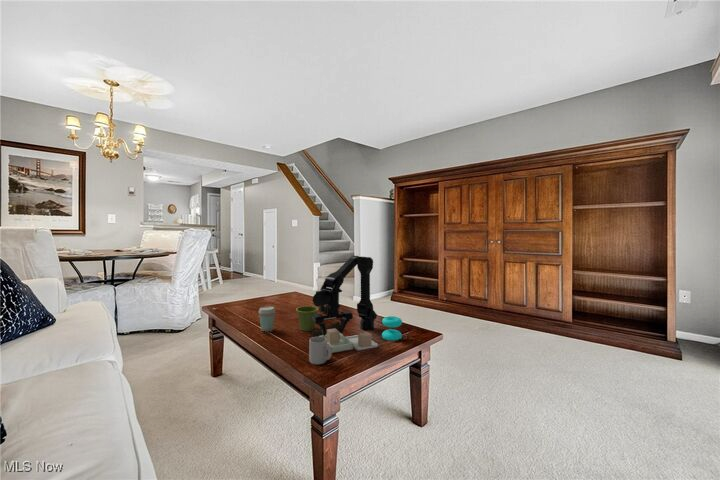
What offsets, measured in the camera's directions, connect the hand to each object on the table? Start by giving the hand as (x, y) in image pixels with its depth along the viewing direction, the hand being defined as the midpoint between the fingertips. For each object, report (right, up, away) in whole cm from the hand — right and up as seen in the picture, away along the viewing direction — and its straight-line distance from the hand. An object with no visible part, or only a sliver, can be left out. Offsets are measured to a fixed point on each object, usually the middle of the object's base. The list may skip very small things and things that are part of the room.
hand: (332, 334), depth 146 cm
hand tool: (-4, -4, +14) cm, 15 cm away
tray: (+13, -4, 0) cm, 14 cm away
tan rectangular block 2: (+15, -4, -4) cm, 16 cm away
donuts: (+29, -4, +8) cm, 30 cm away
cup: (-3, -5, -20) cm, 21 cm away
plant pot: (-15, -3, +19) cm, 25 cm away
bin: (+2, -4, -3) cm, 6 cm away
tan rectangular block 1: (0, -3, 0) cm, 3 cm away
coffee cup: (-37, -3, +17) cm, 40 cm away
